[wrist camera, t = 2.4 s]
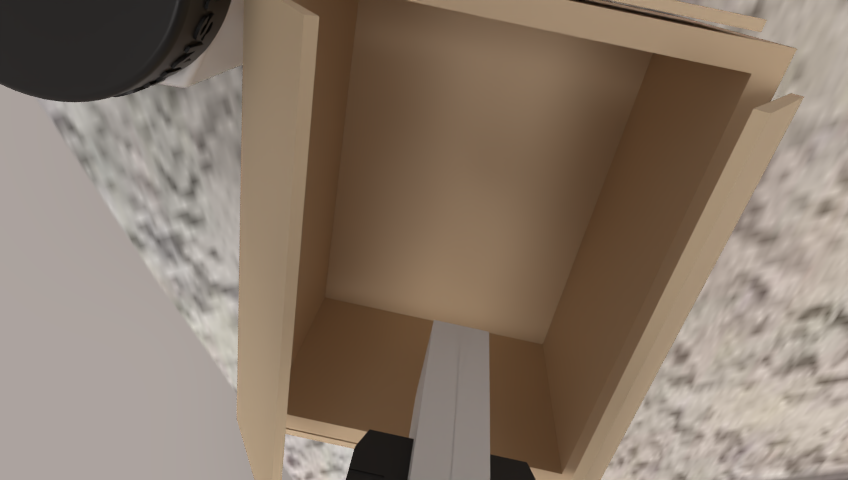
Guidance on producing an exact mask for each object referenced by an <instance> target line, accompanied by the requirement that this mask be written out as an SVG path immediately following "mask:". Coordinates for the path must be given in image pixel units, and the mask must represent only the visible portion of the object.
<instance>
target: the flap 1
mask: <svg viewBox="0 0 848 480" xmlns="http://www.w3.org/2000/svg"><path fill="white" fill-rule="evenodd" d="M318 26H319V16H318V15H316V14H314V13H312V12H311V11H309V10H307V9H306V8H304V7H302V6H300V5H299V4H297V3H295V2H293V1H292V0H244V19H243V79H242V138H241V197H240V256H239V316H238V375H237V421H238V424H239V428H240V431H241V435H242V438H243V442H244V445H245V449H246V452H247V456H248V459H249V462H250V466H251V469H252V473H253V476H254V480H282V468H283V456H284V443H285V431H286V419H287V406H288V394H289V382H290V370H291V357H292V345H293V333H294V321H295V308H296V296H297V284H298V272H299V259H300V247H301V235H302V222H303V210H304V198H305V186H306V173H307V161H308V149H309V137H310V124H311V112H312V100H313V88H314V75H315V63H316V51H317V38H318Z"/></svg>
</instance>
